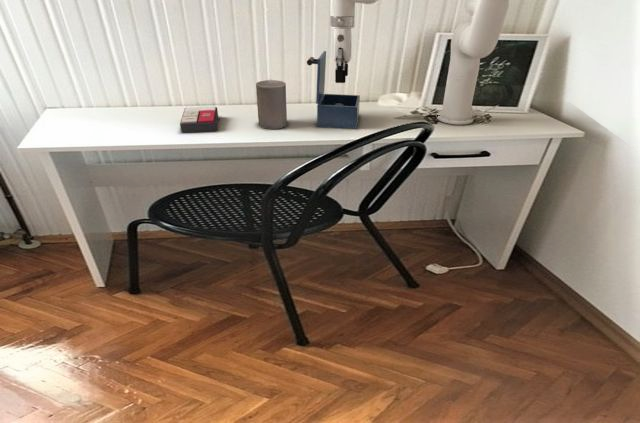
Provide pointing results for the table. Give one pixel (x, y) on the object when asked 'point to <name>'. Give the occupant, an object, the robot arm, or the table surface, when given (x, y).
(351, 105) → the case
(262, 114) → the pillar candle
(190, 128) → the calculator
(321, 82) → the lid
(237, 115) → the table surface
